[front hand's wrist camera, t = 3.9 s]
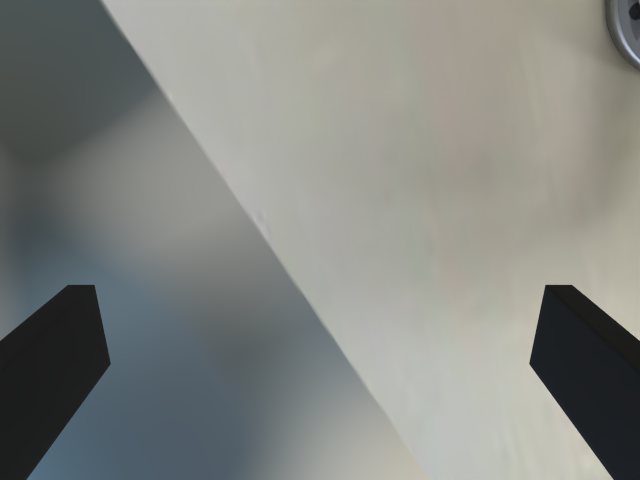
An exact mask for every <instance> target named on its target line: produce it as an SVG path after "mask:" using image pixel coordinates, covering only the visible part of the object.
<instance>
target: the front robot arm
mask: <svg viewBox="0 0 640 480" xmlns="http://www.w3.org/2000/svg"><path fill="white" fill-rule="evenodd" d="M606 18H607V24H608V29H609V32H610V35H611V38H612V40H613V42H614V44H615V46H616V47H617V49H618V51H619V52H620V53H621V55H622V56H623V57H624V58H625V59H626V60H627V61H628V62H629V63H630V64H631V65H633V66H634V67H636V68H637V69H639V70H640V0H606ZM110 364H111V363H110V358H109V354H108V348H107V344H106V339H105V334H104V329H103V324H102V319H101V314H100V310H99V305H98V300H97V295H96V290H95V286H94V285H67V286H66V287H65V288H64V289H63V290H61V291H60V292H59V293H58V294H57V295H55V296H54V297H53V298H52V299H50V300H49V301H48V302H47V303H46V304H44V305H43V306H42V307H41V308H40V309H38V310H37V311H36V312H35V313H34V314H32V315H31V316H30V317H29V318H28V319H26V320H25V321H24V322H23V323H21V324H20V325H19V326H18V327H17V328H15V329H14V330H13V331H12V332H11V333H9V334H8V335H7V336H6V337H5V338H3V339H2V340H1V341H0V480H26V479H27V478H28V477H29V475H30V474H31V473H32V471H33V470H34V469H35V467H36V466H37V464H38V463H39V462H40V460H41V459H42V458H43V456H44V455H45V453H46V452H47V451H48V449H49V448H50V447H51V445H52V444H53V442H54V441H55V440H56V438H57V437H58V436H59V434H60V433H61V431H62V430H63V429H64V427H65V426H66V425H67V423H68V422H69V420H70V419H71V418H72V416H73V415H74V414H75V412H76V411H77V409H78V408H79V407H80V405H81V404H82V403H83V401H84V400H85V398H86V397H87V396H88V394H89V393H90V392H91V390H92V389H93V388H94V386H95V385H96V383H97V382H98V381H99V379H100V378H101V377H102V375H103V374H104V372H105V371H106V370H107V368H108V367H109V366H110ZM529 364H530V366H531V367H532V368H533V370H534V371H535V372H536V374H537V375H538V377H539V378H540V379H541V381H542V382H543V383H544V385H545V386H546V388H547V389H548V390H549V392H550V393H551V394H552V396H553V397H554V399H555V400H556V401H557V403H558V404H559V405H560V407H561V408H562V409H563V411H564V412H565V414H566V415H567V416H568V418H569V419H570V420H571V422H572V423H573V425H574V426H575V427H576V429H577V430H578V431H579V433H580V434H581V436H582V437H583V438H584V440H585V441H586V442H587V444H588V445H589V447H590V448H591V449H592V451H593V452H594V453H595V455H596V456H597V458H598V459H599V460H600V462H601V463H602V464H603V466H604V467H605V469H606V470H607V471H608V473H609V474H610V475H611V477H612V478H613V479H614V480H640V341H639V340H638V339H637V338H635V337H634V336H633V335H632V334H631V333H629V332H628V331H627V330H626V329H625V328H623V327H622V326H621V325H620V324H619V323H617V322H616V321H615V320H614V319H612V318H611V317H610V316H609V315H608V314H606V313H605V312H604V311H603V310H602V309H600V308H599V307H598V306H597V305H596V304H594V303H593V302H592V301H591V300H590V299H588V298H587V297H586V296H585V295H583V294H582V293H581V292H580V291H579V290H577V289H576V288H575V287H574V286H573V285H545V290H544V295H543V300H542V305H541V310H540V314H539V319H538V324H537V329H536V334H535V339H534V344H533V348H532V353H531V358H530V363H529Z"/></svg>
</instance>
